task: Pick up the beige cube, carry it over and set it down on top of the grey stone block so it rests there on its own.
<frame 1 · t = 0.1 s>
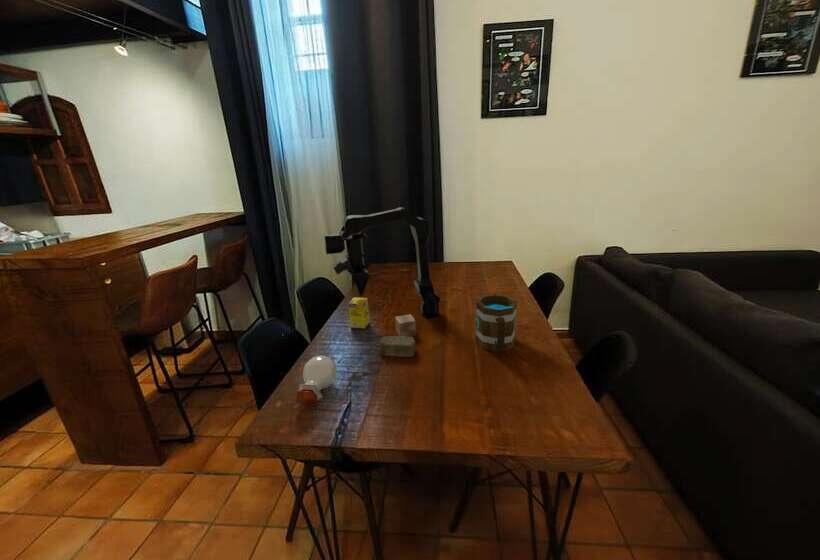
hand: (359, 291, 130), 15 cm above the table, tool pointing down, fingers open, 9 cm apart
stone block: (398, 353, 115), on the table
potion bottle: (319, 392, 97), on the table
supplement box: (360, 326, 135), on the table
beige cube: (405, 333, 127), on the table
mug: (496, 346, 116), on the table
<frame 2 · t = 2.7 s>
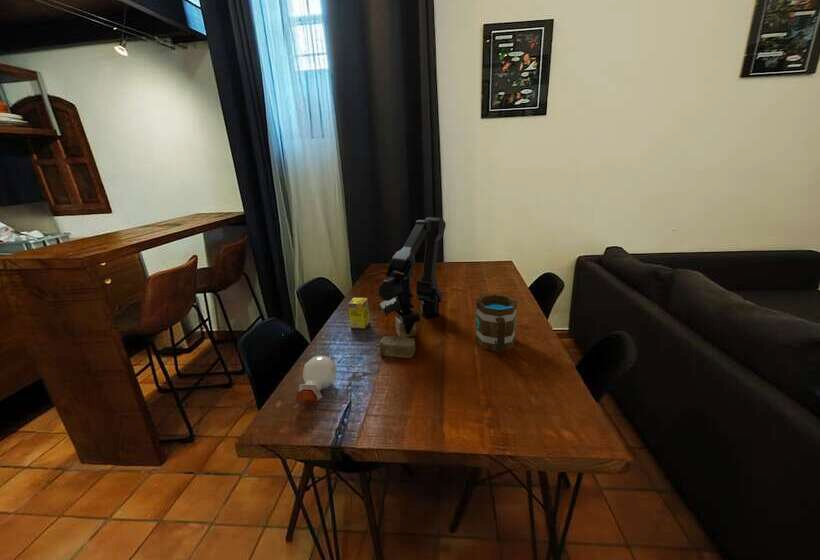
hand: (405, 330, 127), 1 cm above the table, tool pointing down, fingers closed on beige cube, 6 cm apart
beige cube: (405, 333, 127), on the table, touching gripper
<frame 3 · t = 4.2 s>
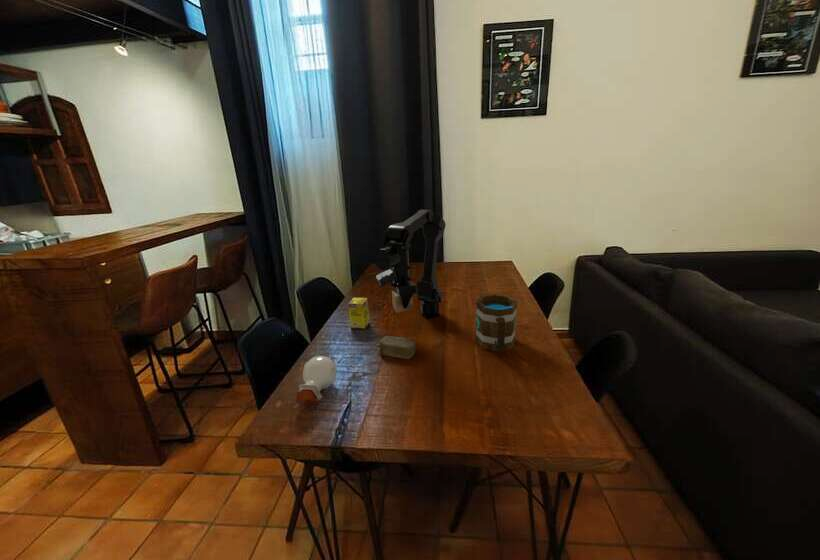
hand: (402, 304, 122), 12 cm above the table, tool pointing down, fingers closed on beige cube, 6 cm apart
beige cube: (402, 308, 122), point 11 cm above the table, touching gripper
everything else where it was.
when the fingers open (7 cm above the table, at t = 6.4 s): beige cube drops 2 cm, resting on stone block.
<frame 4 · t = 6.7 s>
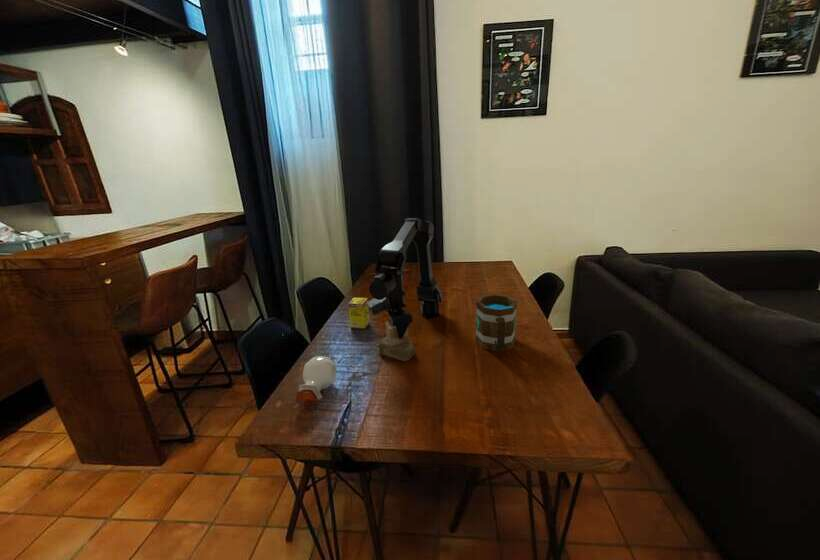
hand: (397, 332, 113), 7 cm above the table, tool pointing down, fingers open, 9 cm apart
stone block: (397, 355, 114), on the table, touching beige cube
beige cube: (397, 339, 113), point 5 cm above the table, touching stone block
everything else where it was.
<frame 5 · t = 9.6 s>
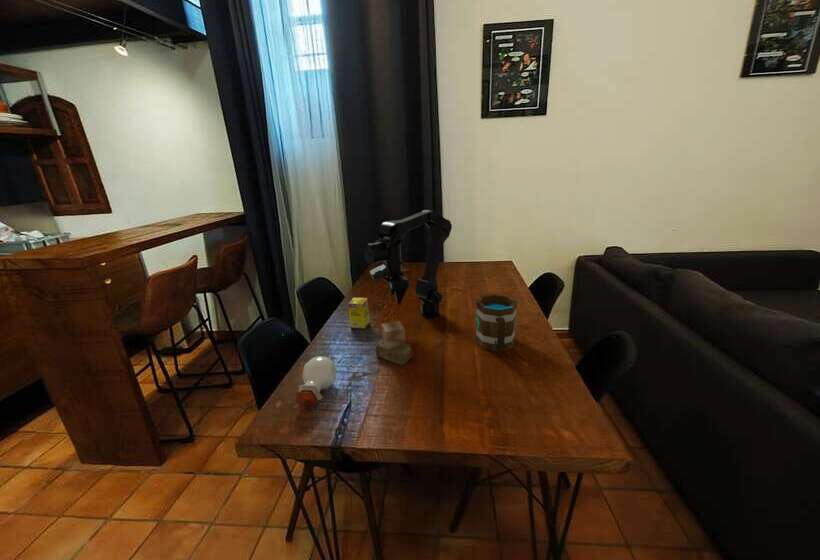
hand: (395, 298, 126), 13 cm above the table, tool pointing down, fingers open, 9 cm apart
stone block: (394, 358, 113), on the table, touching beige cube
beige cube: (394, 342, 112), point 5 cm above the table, touching stone block
everything else where it was.
at the end: beige cube inside the target area on the stone block (0.9 cm from its centre), point 5.1 cm above the stone block's base; beige cube touching stone block; the gripper is holding nothing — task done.
